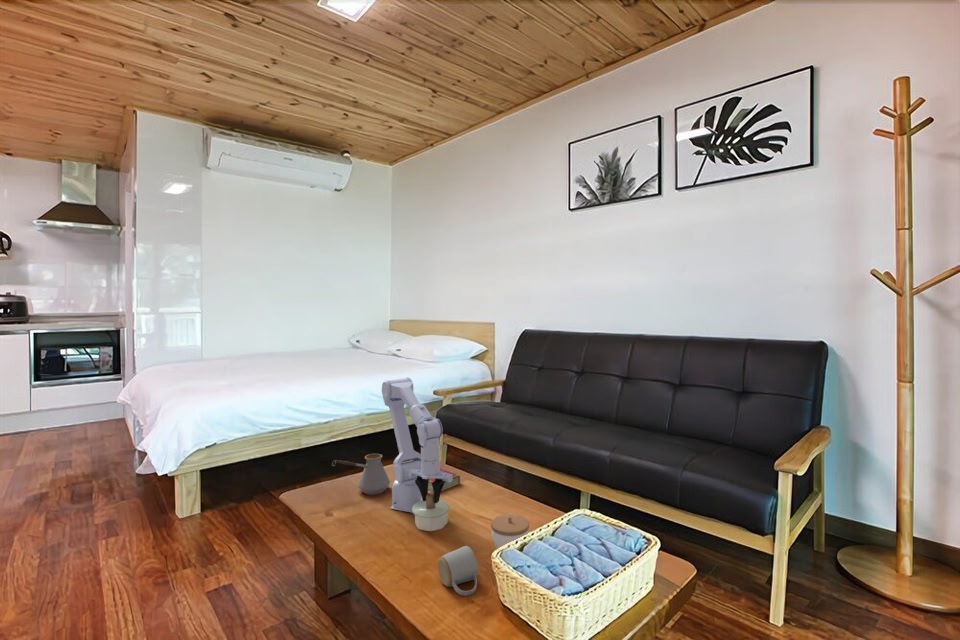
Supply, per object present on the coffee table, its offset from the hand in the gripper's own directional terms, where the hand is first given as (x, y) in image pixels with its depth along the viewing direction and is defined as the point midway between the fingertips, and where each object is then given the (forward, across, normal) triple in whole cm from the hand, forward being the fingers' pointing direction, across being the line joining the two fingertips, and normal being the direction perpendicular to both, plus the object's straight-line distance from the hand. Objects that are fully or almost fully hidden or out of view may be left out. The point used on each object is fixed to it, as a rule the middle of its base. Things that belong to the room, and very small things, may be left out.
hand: (430, 501), depth 146 cm
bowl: (+7, 0, 0) cm, 7 cm away
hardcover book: (+8, -16, +30) cm, 35 cm away
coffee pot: (+7, -34, +11) cm, 36 cm away
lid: (+3, 0, 0) cm, 3 cm away
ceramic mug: (+7, +22, -25) cm, 34 cm away
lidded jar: (+7, +28, -6) cm, 30 cm away
